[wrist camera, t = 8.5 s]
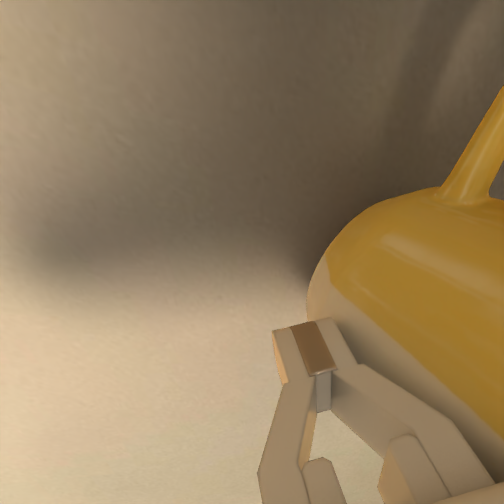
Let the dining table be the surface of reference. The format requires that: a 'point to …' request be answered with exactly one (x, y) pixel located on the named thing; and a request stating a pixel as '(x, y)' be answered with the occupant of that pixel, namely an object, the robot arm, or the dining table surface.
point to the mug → (431, 292)
